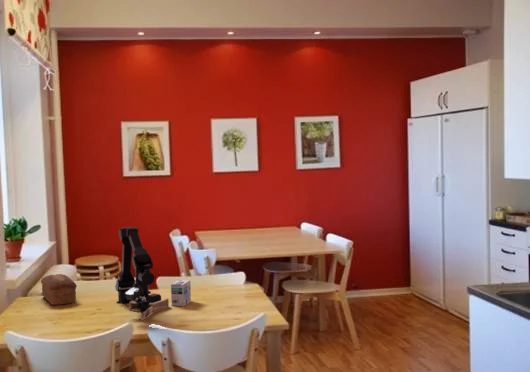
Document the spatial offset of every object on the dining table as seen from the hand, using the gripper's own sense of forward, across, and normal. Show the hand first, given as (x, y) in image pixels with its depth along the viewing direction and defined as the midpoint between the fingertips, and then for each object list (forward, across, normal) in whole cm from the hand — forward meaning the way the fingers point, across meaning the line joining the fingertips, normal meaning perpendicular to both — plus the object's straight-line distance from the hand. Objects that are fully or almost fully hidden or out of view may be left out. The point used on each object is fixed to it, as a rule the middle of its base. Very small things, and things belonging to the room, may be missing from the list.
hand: (142, 314), depth 273 cm
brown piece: (+1, -9, +12) cm, 16 cm away
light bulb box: (+2, -3, +28) cm, 28 cm away
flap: (+1, +2, +1) cm, 2 cm away
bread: (+2, -63, +1) cm, 63 cm away
